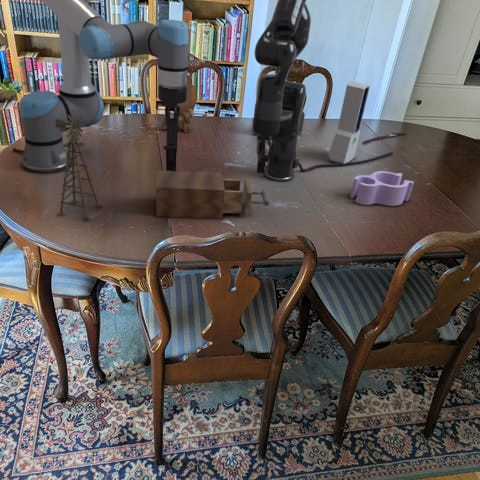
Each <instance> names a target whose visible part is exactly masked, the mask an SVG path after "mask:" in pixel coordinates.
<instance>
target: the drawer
mask: <svg viewBox="0 0 480 480" xmlns="http://www.w3.org/2000/svg"><path fill="white" fill-rule="evenodd" d="M223 181H224V188H225V193H224V205H223V214H242V207H243V211H244V215H245V217H246V216H247V217H248V216H250V212H251V204H253V205H254V204H255V205H256V204H257V205H264V206H265V207H267V206H269V205H270V201H269V198H268V195H267V191H266V190H261V191H252V188H251V183H250V180H249V178H248V177H247V178H246V177H244V179H243V189H242V190H241V179H237V178H236V179H235V178H234V179H233V178H223ZM252 195H261V198H262V200H252Z"/></svg>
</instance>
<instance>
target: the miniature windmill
mask: <svg viewBox="0 0 480 480" xmlns="http://www.w3.org/2000/svg"><path fill="white" fill-rule="evenodd" d="M78 112H79V109H78ZM70 113H71V111H70ZM80 114H81V112H80ZM80 114H79V116H80ZM71 116H72V113H71ZM73 116H75V118H74V120H73ZM73 116H72V118H70V116H69V114H68V117H69V119H70V121H71V122H72V123H74V122H76V121H78V119H79V117H78V119H77V118H76V116H78V113H77V115H76V111H75V115H74V109H73ZM82 117H83V115H82V116H81V118H82ZM81 118H80V119H79V121H80V120H81ZM72 120H73V121H72ZM55 121H56V127H59V128H65V127H66V128H68V127H69V129H67V130H66V131H65V133H66V138H67V140H68V141H67V142H66V143H64V145H63V146H64V147H66V148H67V151H68V153H67V154H66V155H67V161H66V168H65V169H63V170H64V177H63V184H62V192H61V193H60V195H61V200H60V201H59V204H60V208H59V215H63V211H64V205H68V206H73V207H79V208H82V210H83V216H84V220H88V214H87V207H88V206H89V205H90V204H91V203H92V202H93V201H95V204H96V207H98V208H99V207H100V203H99V200H98V194H96V192H95V191H96V190H95V188H94V185H93V183H92V179H91V176H90V174H89V172H88V168H87V165H86V162H85V159H84V157H83V151H81V148H82V147H84V146H85V145H86V143H84V141H83V142H81V141H80V140H81V137H82V136H83V135H82V133H83V132H84V130H83V129H82V128H84V127H83V126H84V125H79V124H81V123H83V120H82V121H81V122H79V121H78V122H79V123H78V122H76V123H77V128H76V129H73V127H75V125H74V124H72V123H71V122H70V121H68V120H67V122H68V123H69V124H68V125H67V123H66V122H64V121H61V120H58V119H55ZM78 127H82V128H78ZM79 141H80V142H79ZM69 157H70V159H69ZM79 157H80V160H81V163H82V164H79V162H78V158H79ZM70 160H71V164H70V165H69V166H68V164H69V161H70ZM80 167H82V168H81V169H80ZM75 168H76V170H75ZM79 169H80V170H79ZM83 171H84V172H85V175H86V178H84V177H81V173H82V172H83ZM75 174H77V176H76V175H75ZM70 176H72V178H70V179H69V180H67V178H68V177H70ZM76 179H77V180H78V186H76ZM82 180H83V181H87V182H86V183H85V184H84V185H82ZM71 182H72V184H71V185H68V184H69V183H71ZM88 185H89V186H90V190H91V192H92V193H88V192H84V191H83V189H84V188H85V187H87V186H88ZM71 188H72V191H71V192H70V193H68V194H67V195H65V194H66V192H67V191H68V190H70V189H71ZM77 190H79V191H77ZM76 194H80V198H81V204H82V205H81V204H76ZM71 195H72V203H71V202H65V200H66V199H67V198H69V197H70V196H71ZM84 195H85V196H92V198H91V200H89V201H88V202H87V203H85V197H84Z"/></svg>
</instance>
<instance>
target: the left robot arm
mask: <svg viewBox="0 0 480 480" xmlns="http://www.w3.org/2000/svg"><path fill="white" fill-rule="evenodd" d="M40 1H41V2H42V3H43V4H44V5H45V6H46V7H47V8H48V9H49V10H50V11H51V12H53V14H55V16H57V25H58V37H59V38H58V39H59V48H60V49H59V50H60V60H61V70H62V71H61V72H62V82H61V84H60V85H59V86H58V94H57V93H56V92H54V91H51V90H44V91H41V90H37V91H33V92H30V93H26V94H25V95H24V96H22V97H21V99H20V100H19V103H18V104H19V116H20V120H21V126H22V132H23V136H24V148H23V150H22V149H18V148H15V147H13V148H12V151H13V152H16V153H20V154H22V158H21V159H22V160H21V161H22V166H23V168H24V169H25V170H27V171H29V172H33V173H39V174H46V173H56V172H61V171H63V170H66V161H67V155H66V154H67V153H68V148H67V147H64V146H63V145H65V143H64V140H63V132H66V130H67V129H69V127H68V128H66V127H65V128H59V127H56V121H55V119H58V120H61V121H64V122H66V123H67V125H68V124H69V123H68V122H67V120H68V121H70V119H69V117H68V114H69V116H70V118H72V116H73V109H74V115H75V111H76V115H77V113H78V116H76V118H77V119H78V117H79V119H80V118H81V116H82V115H83V117H82V118H81V120H80V121H79V119H78V121H79V122H81V121H82V120H83V123H81V124H79V125H84V126H83V127H78V128H80V129H82V128H89V127H91V126H94V125H97V124H99V122H101V120H102V119H103V116H104V112H105V104H104V101H103V100H102V99H103V98H102V96H101V94H100V93H99V91H97V90H96V87H95V86H94V84H93V83H92V82H91V67H90V66H91V65H90V60H101V61H105V60H109V59H117V58H124V57H125V58H126V57H135V56H144V55H145V56H146V55H148V56H152V57H155V58H157V59H158V63H157V83H158V84H159V85H158V86H157V91H158V92H157V97H158V100H159V101H160V102H162V103H164V104H165V106H164V115H165V116H166V119H165V122H166V125H165V126H166V145H163V150H165V171H176V172H177V152H178V130H180V124H178V120H179V115H181V106H180V105H178V104H184V103H186V102H187V100H188V87H187V85H188V78H190V73H189V72H188V69H189V65H188V64H189V43H190V37H189V25H188V24H187V23H186V22H185V21H182V20H176V19H161V20H159V21H158V24H154V23H151V22H148V21H146V20H132V21H131V22H129V23H120V24H117V23H116V24H112V23H109V22H108V21H107V20H106V19H105V18H104V17H103V16H102V15H101V14H99V13H98V12H97V11H96V10H95V9H94V8H93V7H92V6H90V4H89V2H90V1H91V0H40ZM166 104H167V105H166ZM78 109H79V112H78ZM70 111H71V113H72V116H71V113H70ZM80 112H81V114H80ZM79 114H80V116H79ZM74 118H75V116H73V120H74ZM73 120H72V121H73ZM78 121H76V122H78ZM70 122H71V121H70ZM76 122H74V123H72V122H71V123H72V124H74V125H75V127H73V130H76V128H77V123H76ZM79 122H78V123H79ZM165 122H164V123H165ZM70 158H71V157H69V159H70ZM71 165H72V159H71V160H70V161H69V164H68V167H70V166H71Z"/></svg>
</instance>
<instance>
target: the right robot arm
mask: <svg viewBox="0 0 480 480" xmlns="http://www.w3.org/2000/svg"><path fill="white" fill-rule="evenodd" d="M306 2H307V0H277V1H276V5H275V8H274V11H273V14H272V17H271V19H270V20H271V21H269V24H268V25H267V26H266V28H265V29H264V31H263V32H262V34H261V35H260V37H259V38H258V40H257V41H256V44H255V46H254V47H255V48H254V59H255V61H256V62H257V63H258V64H259V65H262V66H267V67H272V68H275V69H274V73H272V74H271V73H269V74H263V75H261V76H260V77H259V78H258V84H257V93H256V99H255V104H254V111H253V121H252V132H253V131H254V132H256V133H258V134H259V135H257V134H256V155H257V156H256V159H257V163H256V173H258V174H264V173H265V176H266V177H267V178H269V179H270V180H273V181H278V182H285V181H289V180H290V179H292V176H293V175H294V170H295V169H297V168H298V167H299V170H300V171H301V172H308V171H309V172H310V171H312V170H313V169H315V168H321V167H339V166H340V167H341V166H350V165H357V164H364V163H368V162H372V161H375V160H378V159H381V158H385V157H387V156H391V155H393V154H394V152H393V151H390V152H388V153H385V154H381V155H378V156H375V157H372V158H368V159H363V160H356V161H349V162H348V163H345V164H343V163H336V162H335V163H322V164H321V163H320V164H315V165H313V166H310V167H309V168H308V167H307V168H303V166H302V164H301V163H300V159H299V158H297V150H296V149H297V142H298V137H299V133H298V131H299V125H300V119H301V114H302V111H303V108H304V105H305V100H306V95H307V88H306V85H305V84H304V83H301V82H295V81H289V80H287V78H288V76H289V73H290V70H291V68H292V66H293V64H294V61H296V60H297V58H298V57H299V56H300V55H301V53H302V52H303V51H304V49H305V48H306V46H307V45H308V43H309V37H310V33H311V32H310V31H311V23H312V18H311V13H310V10H309V8H308V6H307V3H306ZM282 110H286V111H291V112H292V114H291V115H289V116H286V117H281V113H282ZM254 132H253V133H254Z"/></svg>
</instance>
